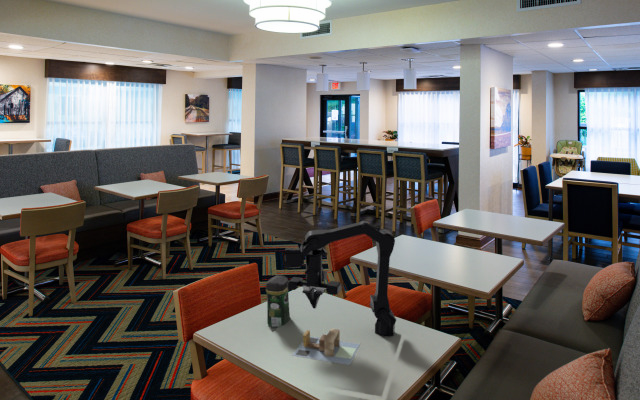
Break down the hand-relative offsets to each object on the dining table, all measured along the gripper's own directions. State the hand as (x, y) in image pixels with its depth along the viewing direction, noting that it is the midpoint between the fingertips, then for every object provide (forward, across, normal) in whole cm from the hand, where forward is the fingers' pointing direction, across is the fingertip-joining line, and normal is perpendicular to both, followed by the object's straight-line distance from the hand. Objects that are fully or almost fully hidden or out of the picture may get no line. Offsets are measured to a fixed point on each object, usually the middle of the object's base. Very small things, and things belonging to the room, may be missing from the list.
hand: (314, 308), depth 163 cm
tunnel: (+11, -9, +8) cm, 16 cm away
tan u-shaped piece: (+10, -4, +8) cm, 14 cm away
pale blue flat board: (+12, -7, +8) cm, 16 cm away
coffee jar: (+12, +18, -8) cm, 23 cm away
